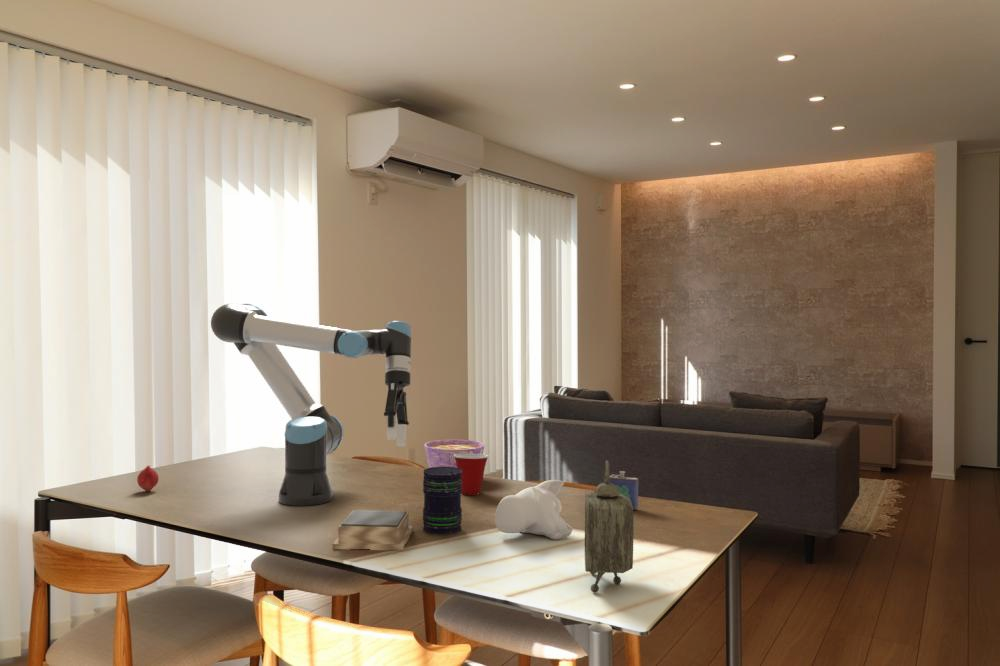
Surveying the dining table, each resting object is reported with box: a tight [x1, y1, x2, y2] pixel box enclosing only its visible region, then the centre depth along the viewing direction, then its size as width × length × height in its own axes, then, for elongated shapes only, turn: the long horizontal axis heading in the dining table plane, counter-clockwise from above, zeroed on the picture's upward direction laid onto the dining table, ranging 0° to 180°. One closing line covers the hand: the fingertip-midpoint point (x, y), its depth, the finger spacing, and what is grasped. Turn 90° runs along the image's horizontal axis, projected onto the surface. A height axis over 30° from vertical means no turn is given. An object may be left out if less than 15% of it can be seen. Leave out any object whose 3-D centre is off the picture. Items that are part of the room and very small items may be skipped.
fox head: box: [494, 479, 573, 541], centre depth 187 cm, size 13×17×20 cm
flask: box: [609, 470, 639, 511], centre depth 213 cm, size 9×3×11 cm, turn 68°
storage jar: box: [422, 467, 463, 536], centre depth 190 cm, size 10×10×15 cm
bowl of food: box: [424, 439, 486, 468], centre depth 249 cm, size 20×20×12 cm
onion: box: [136, 464, 159, 492], centre depth 227 cm, size 6×6×8 cm
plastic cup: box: [454, 453, 489, 496], centre depth 230 cm, size 11×11×12 cm
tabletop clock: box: [584, 459, 635, 594], centre depth 152 cm, size 14×9×25 cm, turn 175°
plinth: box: [332, 509, 414, 551], centre depth 181 cm, size 16×16×5 cm
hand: (396, 442), depth 220 cm, fingers open, 13 cm apart
